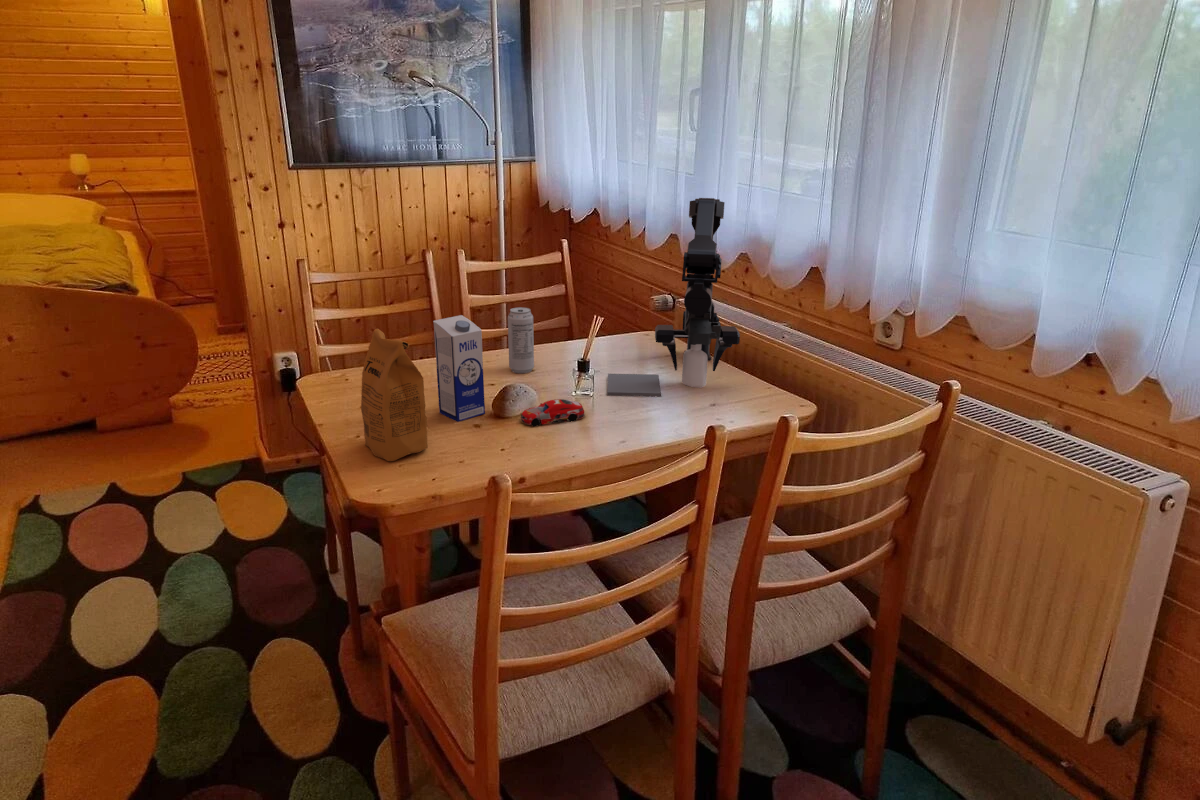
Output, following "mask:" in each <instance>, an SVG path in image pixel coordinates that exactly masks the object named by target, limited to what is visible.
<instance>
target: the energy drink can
mask: <svg viewBox="0 0 1200 800" xmlns="http://www.w3.org/2000/svg"><path fill="white" fill-rule="evenodd" d="M531 310H532V309H531V308H529V307H521V306H519V307H513V308H510V309H509V311H510V312H509V313H508V316H507V339H508V341H507V342H508V367H509V369H510V370H511V372H513V373H515V374H528V373H531V372H532V371H533V369H534V367H535V347H534V344H535V343H534V339H535V337H534V315H533V314H532V311H531Z"/></svg>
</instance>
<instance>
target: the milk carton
mask: <svg viewBox="0 0 1200 800" xmlns="http://www.w3.org/2000/svg"><path fill="white" fill-rule="evenodd" d="M432 322H433V329H434V330H433V333H434V334H433V335H434V348H435V361H436V362H435V363H436V365H435V366H436V378H437V379H436V380H437V395H438V411H439V414H441V415H442V416H445V417H446V418H448V417H449V418H448V419H450V420H453V421H455V422H457V423H458V422H463V421H466V420H470V419H472V418H475V417H479V416H482V415H486V411H485V410H486V405H485V404H486V403H485V385H484V381H485V380H484V361H483V360H484V359H483V355H484V354H483V337H482V336H483V335H482V331H483V330H482V329H481V328H480V327H479V326H477V324H475V323H474V322H473V321H471V320H470V319H469V318H467V317H465V316H464V315H462V314H459V315H455V316H451V317H446V318H441V319H440V318H439V319H435V320H433V321H432Z"/></svg>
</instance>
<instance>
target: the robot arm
mask: <svg viewBox="0 0 1200 800" xmlns="http://www.w3.org/2000/svg"><path fill="white" fill-rule="evenodd" d="M724 213H725V201H721V200H720V198H719V199H718V198H717V199H716V198H713V197H699V198H695V199H694V200H689V209H688V217H689V219H691V226H692V228H693V230H694V236H693V239H691V240H690V241H689V242H688V244H687V251H684V253H683V261H682V262H683V264H682V272H681V273H682V276H681V282H687V283H686V291H685V293H684V294H685V295H684V299H683V305H684V308H685V310H683V314H682V329H674V325H673V324H657V325H656V326H655V328H654V330H655V331H654V338H655V342H656V343H657V344H662V346H663V347H667V349H668V351H669V354H670V357H671V361H672V364H673V369H674V371H677V370H678V362H677V361H678V358H677V349H676V347H677V345H676V341H675V340H676V339H687V342H686V343H687V344H686V350H684V352H685V351H687V350H690V349H691V345H696V344H702V345H701V350H702V351H703V352H705V353H706V354H707V356H708V361H711V360H712V359H713V360H712V371H713V372H715V371H716V369H717V367H718V364H719V362H720V359H721V358H722V356H723V354H724V352H725V351H726V350H727V349H729V348H732V347H733V345H739V344H740V338H741V336H740V335H741V334H740V332H739V330H738V328H737V327H736V326H733V325H728V326H727V325H721V322H720V318H719V317H718V313H717V312H715V304H714V302H713V286H714V284H713V283H715V284H718V279H721V273H722V272H721V271H722V257H721V255H720V253H717V243H716V241H714V235H715V234H716V233H717V231H718V230H719V228H720V226H721V220H722V219H724ZM712 340H715V345H714V346H715V347H714V353H713V358H712V356H711V352H710V345H711V344H712ZM684 352H683V353H684Z"/></svg>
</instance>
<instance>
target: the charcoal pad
mask: <svg viewBox="0 0 1200 800" xmlns="http://www.w3.org/2000/svg"><path fill="white" fill-rule="evenodd" d="M606 390H607V394H606V395H607V396H611V397H612V396H613V397H614V396H615V397H624V396H625V397H649V396H651V398H652V397H653V398H654V397H655V396H657V397H659V398H661V397H662V387H661V382H660V376H659V374H657V373H656V374H650V373H649V374H647V373H646V374H645V373H607V389H606ZM657 397H655V398H657Z"/></svg>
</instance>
